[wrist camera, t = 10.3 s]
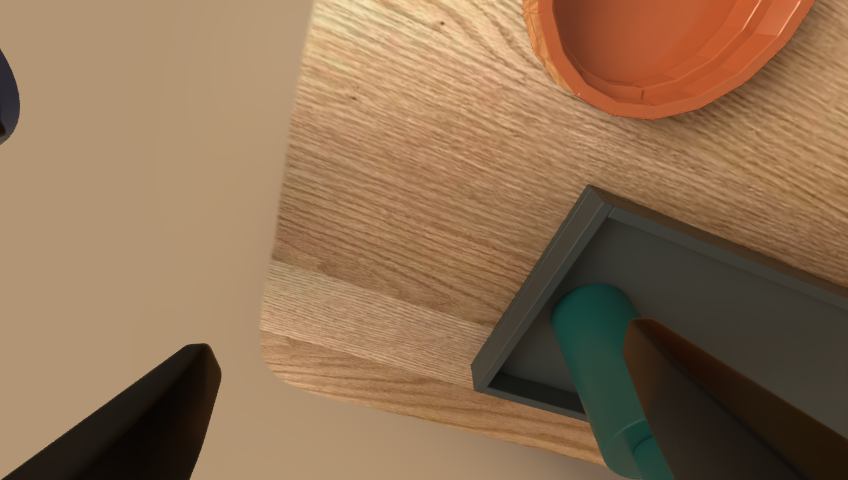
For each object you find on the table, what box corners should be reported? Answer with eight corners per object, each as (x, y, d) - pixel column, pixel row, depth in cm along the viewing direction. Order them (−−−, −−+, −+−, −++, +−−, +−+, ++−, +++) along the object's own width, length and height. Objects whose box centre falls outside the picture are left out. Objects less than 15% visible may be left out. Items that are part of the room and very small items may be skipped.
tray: (470, 365, 26) (473, 391, 24) (587, 183, 20) (603, 201, 18) (959, 505, 34) (987, 532, 33) (1149, 410, 28) (1196, 437, 26)
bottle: (547, 345, 24) (630, 578, 14) (553, 285, 22) (657, 513, 12) (623, 341, 24) (758, 573, 14) (637, 280, 22) (808, 507, 12)
